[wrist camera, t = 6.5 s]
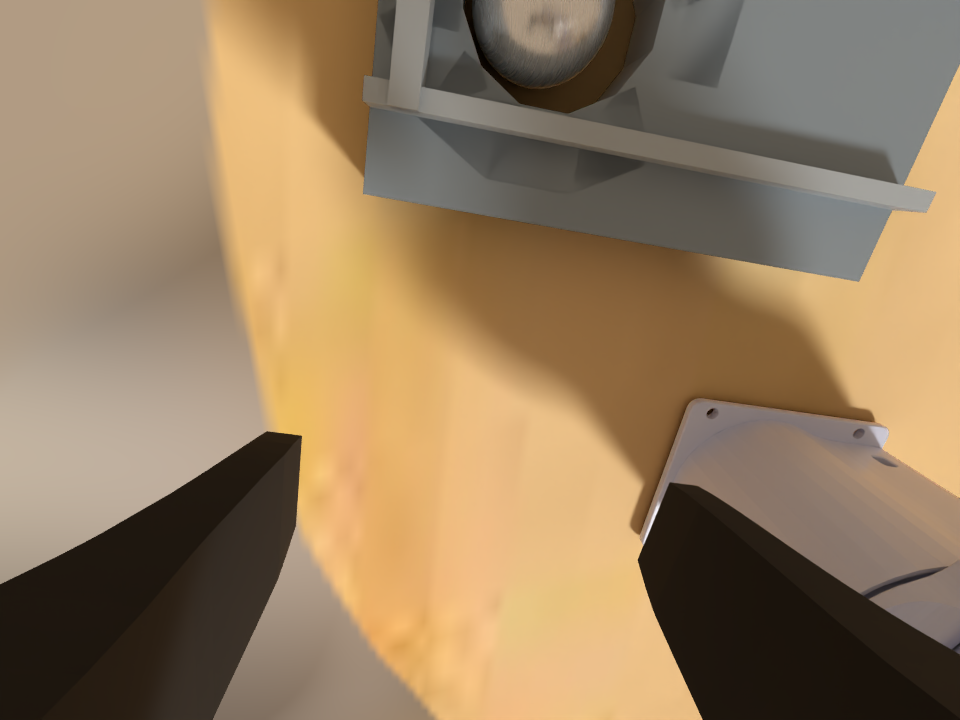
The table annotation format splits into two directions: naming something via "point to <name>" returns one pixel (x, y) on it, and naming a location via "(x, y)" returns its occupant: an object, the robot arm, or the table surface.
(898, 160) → the grey divided tray
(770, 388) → the table surface
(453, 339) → the table surface
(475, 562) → the table surface
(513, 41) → the steel ball
